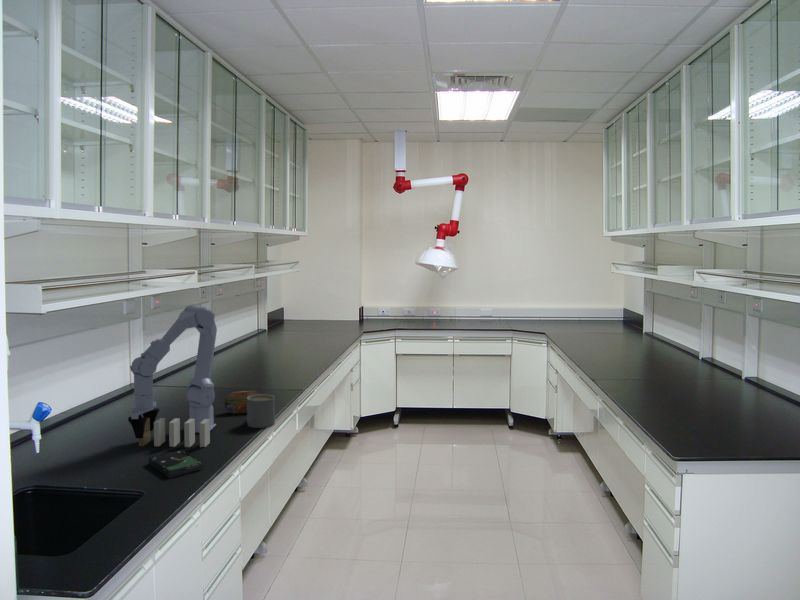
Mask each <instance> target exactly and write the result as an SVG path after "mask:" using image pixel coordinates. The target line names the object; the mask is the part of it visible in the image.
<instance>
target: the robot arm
mask: <svg viewBox="0 0 800 600" xmlns="http://www.w3.org/2000/svg"><path fill="white" fill-rule="evenodd" d="M215 315H216V314H215V312H213V311H212V310H211V308H209V307H207V306H206V307H203V306H196V305H192V304H191V305H187V306H186V307H185V308H184V309H183V310H182V311H181V312H180V313H179V315H178V318H177V319H176V320H175V321H174V323H173V324H172V325H171V327H170V328H169V329H168V330H167V331H166V332H165V334H164V335H163V337H161V338H159V339H155V340H152V341H151V342H150V345H149V347H147V348H146V349H145V351H144V352H142V353H140V356H139V357H136V358H134V359H133V361H132V363H131V365H130V366H129V369H130V371H131V372H132V373H133V390H134V391H133V393H134V394H133V397H134V399H133V400H134V405H132V406H131V408H130V409H131V410H132V412H131V413H130V416H129V417H128V418H127V419H128V423H129V424H130V426H131V428H132V430H133V433H134V436H135V439H139V438H143V436H144V427H145V423H146V421H147V418H150V432H154V422H155V421H156V420H157V417H158V414H159V412H160V408H157V401H154V374H155V373H156V372H157V367H158V364H159V363H160V362H161V361H162V360H163V359H164V357H166V355H168V353H169V352H170V351H171V347H170V346H171V345H172V343H174V342H175V341H176V340H177V339H178V338H179V337H180V335H182V334H183V333H184V332H185V331H186V330H187V329H191V328H193V329H194V328H195V329H196V330H197V332H199V340H198V346H197V353H196V355H197V356H196V361H195V368H194V375H193V377H192V378H191V379H190V380H189V384H188V387H187V388H186V391H185V398H186V400H187V401H188V404H189V419H195V433H198V434H200V423H201V422H202V421H203V420H204V419H210V431H212V430H213V429H214V428H215V427H216V426H217V423H214V422H215V421H214V419H215V417H214V414H215V413H214V406H213V403H214V401H215V398H216V394H215V390H214V389H215V384H214V382H212V379H211V375H212V370H213V369H212V368H213V367H212V366H213V361H214V353H215V346H216V339H217V332H218V331H217V330H218V329H217V325H216V322H215Z"/></svg>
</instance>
